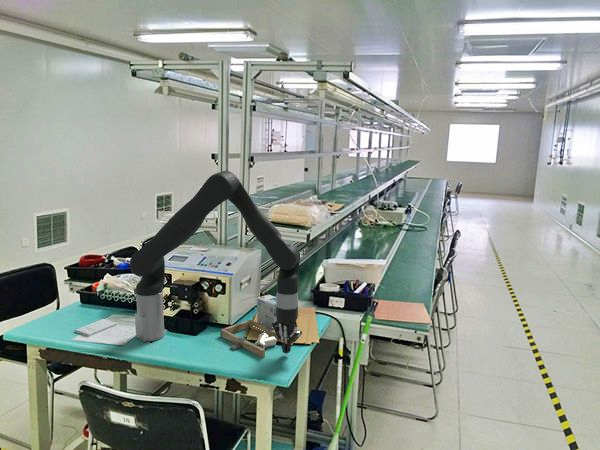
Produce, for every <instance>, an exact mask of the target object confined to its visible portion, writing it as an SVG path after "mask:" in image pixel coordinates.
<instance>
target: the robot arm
mask: <svg viewBox="0 0 600 450" xmlns="http://www.w3.org/2000/svg"><path fill="white" fill-rule="evenodd" d="M226 201H229V203H232V204H233V206H235V208H236V209H237V210H238V211H239V213H240V214H241V216H242V218H243V220H244V222H245V224H246V225H247V228H248V230H249V231H250V233H252V235H253V236H254V237H255V238H256V239H257V240H258V241H259V243H260V244H261V245H262V246H263V247H264V248H265V250H266V252H267V254H268V255H269V256H270V258H271V259H272V261H273V262H274V263H275V264H276V266H278V268H279V272H278V276H277V277H276V295H275V297H276V318H277V321H276V322H273V323H272V326H273V328H274V330H275V333H276V335H277V337H278V339H281V341H280V343H281V350H282V351H281V352H282V354H288V353H290V352H291V349H292V348H291V347H292V346H291V343H293V344H294V343H295V342H297V341H298V339H299V338H300V336H302V334H303V331H302V330H299V329H298V324H297V319H298V317H299V280H298V279H299V272H300V270H299V269H300V265H301V263H300V262H301V254H300V250H299V249H298V247H297V246H296V245H294V244H291V243H289V244H286V243H285V241H284V239H283V238H282V234H281V232H280V231H279V229H278V228H276V226H275V225H274V224H273V223H272V221H270V220H269V219H268V217H267V216H266V215H265V214H264V213H263V211H262V210H261V209H260V208H259V207H258V204H256V203H255V202H254V200H253V198H252V197H251V195H250V194H249V192H248V191H247V190H246V188H245V186H243V183H242V181H241V180H240V179H239V178H238V177H237V174H235V173H233V172H232V171H229V170H223V171H219V172H216V173H213V174H211V175H210V176H209V177H208V178H207V179H206V180H205V182H203V185H202V186H201V187H200V188H199V190H198V191H197V192H196V194H195V195H194V196H193V197H192V198H191V199H190V200H189V201H188V202H187V203H185V204H184V205H183V206H181V208H179V210H178V211H176V213H174V214H173V215H172V217H170V218H169V219H168V221H167V222H166V223H165V224H164V225H163V226H162V227H161V228H160V229H159V231H157V233H156V234H155V235H154V236H153V237H152V238H151V239H150V240H149V241H148V242H147V243H146V244H144V246H142V247H141V248H140V249H138V250H137V251H136V252H134V254H132V256H131V258H130V260H129V269H130V272H131V273H132V274H133V275H135V277H136V276H137V277H139V278H140V280H139V282H138V283H137V284H136V287H135V292H136V293H135V294H136V295H135V296H136V312H134V319H135V321H134V322H135V338H137V340H138V339H139V340H140V341H142V342H143V343H145V342H155V341H157V340H158V341H159V340H161V339H162V338H164V336H165V321H164V320H165V318H164V315H165V314H164V294H163V293H164V292H163V291H164V289H163V288H164V284H165V281H166V280H165V278H166V277H165V275H166V274H165V273H166V272H165V271H166V265H165V264H166V263H165V262H166V261H165V256H166V255H169V253H172V252H173V251H174V250H176V249H177V248H179V247H180V246H182V245H183V244H184V243H186V242H187V241H189V239H190V238H191V237H192V236H194V234H196V232H197V231H199V229H200V228H201V227H202V224H203V223H204V221H205V219H206V218H207V216H208V215H209V214H210V213H211V212H212V211H214V209H216V208H217V207H218V206H220V205H221V204H222V203H224V202H226ZM279 331H280V334H279Z"/></svg>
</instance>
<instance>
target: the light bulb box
mask: <svg viewBox="0 0 600 450" xmlns="http://www.w3.org/2000/svg"><path fill="white" fill-rule="evenodd" d="M256 300H257V303H256V305H257V307H256V310H257V312H256V313H257V314H256V315H257V316H256V317H257V318H256V319H257V321H256V322H257V323H259V324H261V325H264V326H266V327H270V328H272V327H273V326H272V323H273V322H276V321H277V318H276V296H274V295H271V294H266V295H262V296H259V297H257V298H256ZM261 322H262V323H261ZM272 329H273V330H274V328H272Z"/></svg>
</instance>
